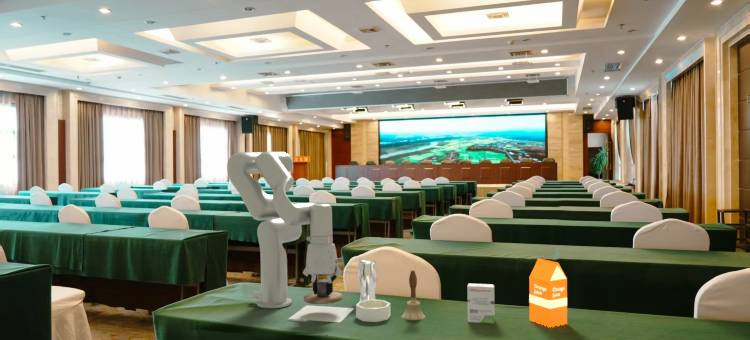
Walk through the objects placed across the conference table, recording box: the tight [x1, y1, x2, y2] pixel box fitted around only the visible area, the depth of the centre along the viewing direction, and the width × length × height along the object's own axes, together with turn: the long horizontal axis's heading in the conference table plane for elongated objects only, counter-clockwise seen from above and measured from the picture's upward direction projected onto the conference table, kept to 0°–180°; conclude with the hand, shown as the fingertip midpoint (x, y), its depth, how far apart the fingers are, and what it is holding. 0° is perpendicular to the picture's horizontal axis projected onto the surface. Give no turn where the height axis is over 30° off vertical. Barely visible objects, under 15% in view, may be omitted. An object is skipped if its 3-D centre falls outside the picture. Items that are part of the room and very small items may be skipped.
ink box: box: [466, 282, 496, 324], centre depth 168 cm, size 9×5×12 cm, turn 76°
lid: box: [303, 279, 343, 305], centre depth 176 cm, size 13×13×6 cm
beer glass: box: [357, 259, 378, 301], centre depth 192 cm, size 7×7×15 cm
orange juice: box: [528, 257, 568, 329], centre depth 166 cm, size 8×9×20 cm
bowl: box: [355, 299, 392, 323], centre depth 172 cm, size 11×11×5 cm
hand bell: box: [401, 270, 426, 321], centre depth 171 cm, size 8×8×16 cm
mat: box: [287, 304, 355, 323], centre depth 176 cm, size 18×16×1 cm
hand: (322, 293), depth 176 cm, fingers closed on lid, 4 cm apart
